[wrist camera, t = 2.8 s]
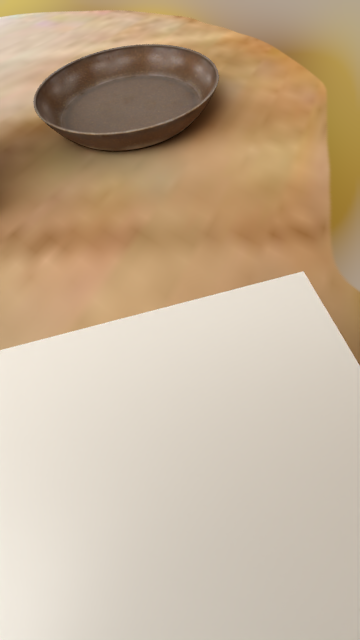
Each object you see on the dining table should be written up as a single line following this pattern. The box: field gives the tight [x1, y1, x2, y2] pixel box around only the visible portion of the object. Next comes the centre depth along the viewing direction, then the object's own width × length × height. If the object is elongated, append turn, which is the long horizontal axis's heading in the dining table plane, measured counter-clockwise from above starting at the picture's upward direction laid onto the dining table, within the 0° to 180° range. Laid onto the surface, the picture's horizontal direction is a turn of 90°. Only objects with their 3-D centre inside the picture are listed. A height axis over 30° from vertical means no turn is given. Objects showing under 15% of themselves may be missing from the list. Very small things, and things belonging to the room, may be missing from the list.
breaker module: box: [0, 271, 360, 640], centre depth 9 cm, size 7×6×13 cm
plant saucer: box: [34, 44, 219, 151], centre depth 31 cm, size 21×21×3 cm
